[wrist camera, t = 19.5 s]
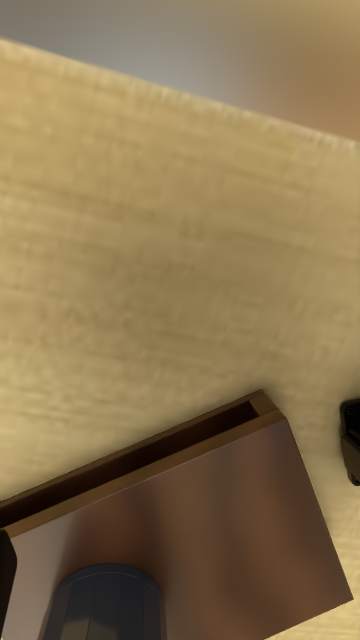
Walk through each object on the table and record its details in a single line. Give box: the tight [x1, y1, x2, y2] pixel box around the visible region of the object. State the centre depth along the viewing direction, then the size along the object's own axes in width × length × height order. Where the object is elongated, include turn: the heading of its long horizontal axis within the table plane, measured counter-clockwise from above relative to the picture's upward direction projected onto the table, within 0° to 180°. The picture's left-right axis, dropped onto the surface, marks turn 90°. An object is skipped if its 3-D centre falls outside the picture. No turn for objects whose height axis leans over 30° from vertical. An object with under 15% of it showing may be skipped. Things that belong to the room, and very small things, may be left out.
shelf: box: [0, 390, 353, 640], centre depth 21 cm, size 20×14×4 cm
